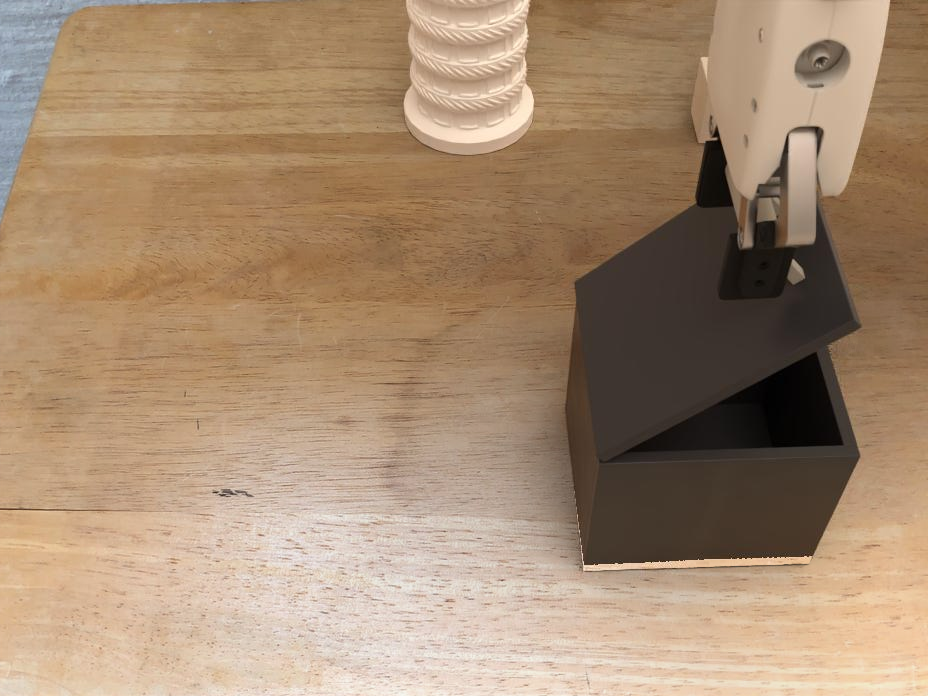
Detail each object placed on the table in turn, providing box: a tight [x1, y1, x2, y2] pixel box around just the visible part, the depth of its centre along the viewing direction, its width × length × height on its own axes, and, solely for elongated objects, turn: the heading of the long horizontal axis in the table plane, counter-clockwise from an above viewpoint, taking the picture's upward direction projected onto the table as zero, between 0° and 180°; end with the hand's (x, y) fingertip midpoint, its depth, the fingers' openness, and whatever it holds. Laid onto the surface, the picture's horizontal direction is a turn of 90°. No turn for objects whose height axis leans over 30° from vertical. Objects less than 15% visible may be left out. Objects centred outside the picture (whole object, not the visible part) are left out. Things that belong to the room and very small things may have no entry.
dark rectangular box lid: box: [573, 163, 863, 462], centre depth 59 cm, size 15×14×5 cm
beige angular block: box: [690, 56, 717, 144], centre depth 95 cm, size 4×4×6 cm
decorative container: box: [403, 0, 535, 156], centre depth 91 cm, size 12×12×18 cm
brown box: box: [564, 300, 861, 565], centre depth 70 cm, size 15×14×12 cm
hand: (736, 245), depth 57 cm, fingers closed on dark rectangular box lid, 6 cm apart
